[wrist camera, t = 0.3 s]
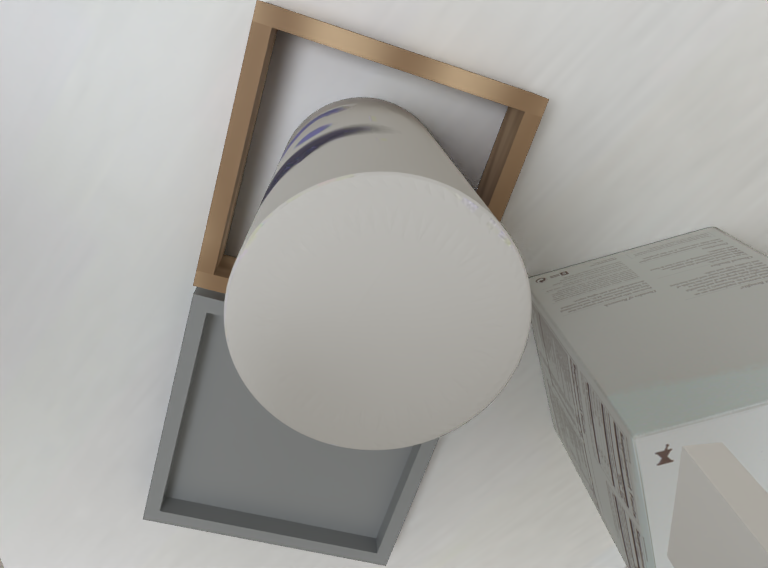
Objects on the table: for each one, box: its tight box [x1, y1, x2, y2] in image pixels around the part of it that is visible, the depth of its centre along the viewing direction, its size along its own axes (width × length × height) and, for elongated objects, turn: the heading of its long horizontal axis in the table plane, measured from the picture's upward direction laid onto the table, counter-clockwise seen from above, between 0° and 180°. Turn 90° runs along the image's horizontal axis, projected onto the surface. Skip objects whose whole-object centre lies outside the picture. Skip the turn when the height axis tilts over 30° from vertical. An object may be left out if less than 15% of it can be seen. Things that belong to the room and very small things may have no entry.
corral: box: [193, 0, 549, 294], centre depth 37 cm, size 16×16×4 cm
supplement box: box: [528, 227, 768, 568], centre depth 36 cm, size 13×13×18 cm
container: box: [224, 98, 532, 450], centre depth 30 cm, size 10×10×20 cm
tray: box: [143, 287, 439, 566], centre depth 44 cm, size 18×18×2 cm
